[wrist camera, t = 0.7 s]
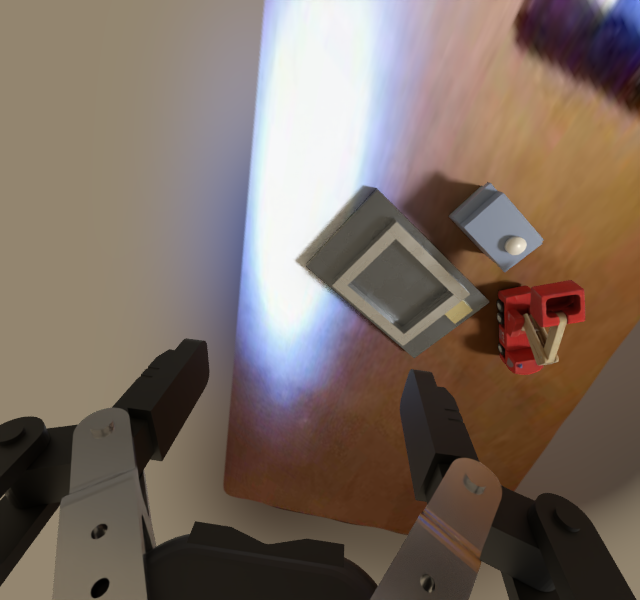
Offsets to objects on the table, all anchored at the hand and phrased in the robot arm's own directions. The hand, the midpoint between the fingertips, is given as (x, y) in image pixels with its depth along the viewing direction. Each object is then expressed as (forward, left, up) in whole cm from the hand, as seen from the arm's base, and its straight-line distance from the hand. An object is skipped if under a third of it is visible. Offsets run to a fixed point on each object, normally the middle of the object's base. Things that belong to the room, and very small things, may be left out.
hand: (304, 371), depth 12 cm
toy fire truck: (-7, +22, -24) cm, 34 cm away
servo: (-11, +11, -24) cm, 29 cm away
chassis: (0, +10, -24) cm, 26 cm away
